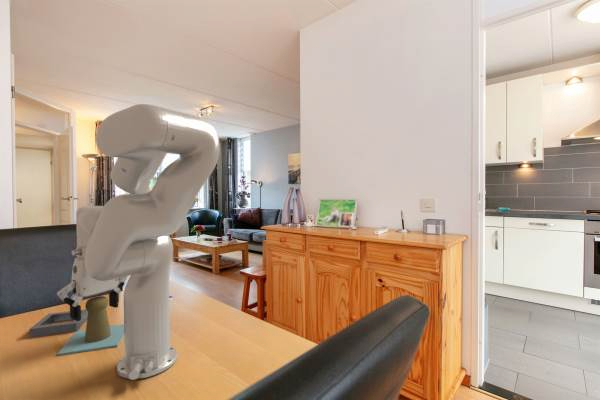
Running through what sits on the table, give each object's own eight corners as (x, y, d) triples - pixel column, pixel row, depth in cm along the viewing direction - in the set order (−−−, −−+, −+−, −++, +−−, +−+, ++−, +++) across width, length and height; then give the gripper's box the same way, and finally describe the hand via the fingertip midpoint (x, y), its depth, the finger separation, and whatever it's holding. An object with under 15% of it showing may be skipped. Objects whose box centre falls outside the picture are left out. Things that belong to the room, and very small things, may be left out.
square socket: (76, 331, 86) (76, 323, 86) (29, 337, 82) (29, 329, 82) (90, 316, 96) (89, 308, 96) (48, 321, 93) (48, 313, 92)
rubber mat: (117, 346, 77) (117, 344, 77) (57, 355, 73) (57, 353, 73) (128, 325, 89) (128, 323, 89) (77, 332, 85) (77, 330, 85)
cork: (97, 343, 78) (96, 302, 77) (78, 341, 79) (77, 300, 79) (116, 332, 84) (115, 294, 83) (98, 330, 85) (97, 293, 85)
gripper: (65, 259, 71) (67, 328, 72) (133, 246, 87) (134, 304, 87) (49, 256, 74) (51, 323, 75) (117, 244, 90) (118, 300, 90)
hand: (96, 312), depth 81 cm, fingers open, 9 cm apart
